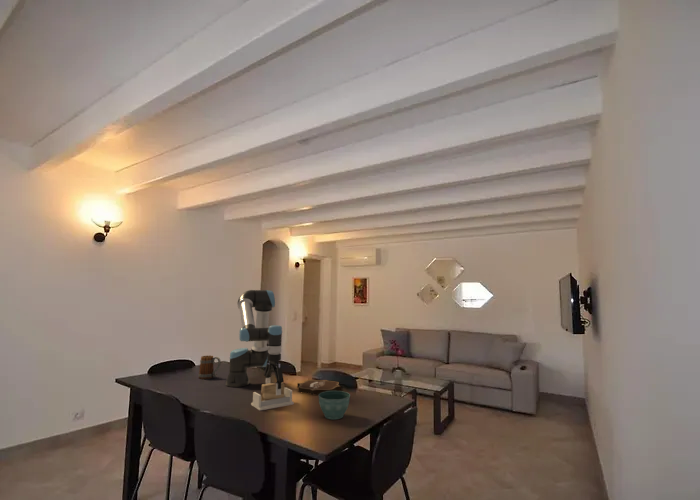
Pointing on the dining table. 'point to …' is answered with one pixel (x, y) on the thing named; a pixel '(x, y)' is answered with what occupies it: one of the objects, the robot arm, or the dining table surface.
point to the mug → (208, 367)
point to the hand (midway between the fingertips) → (272, 392)
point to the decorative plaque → (318, 386)
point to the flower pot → (334, 403)
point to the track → (272, 401)
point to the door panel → (271, 391)
